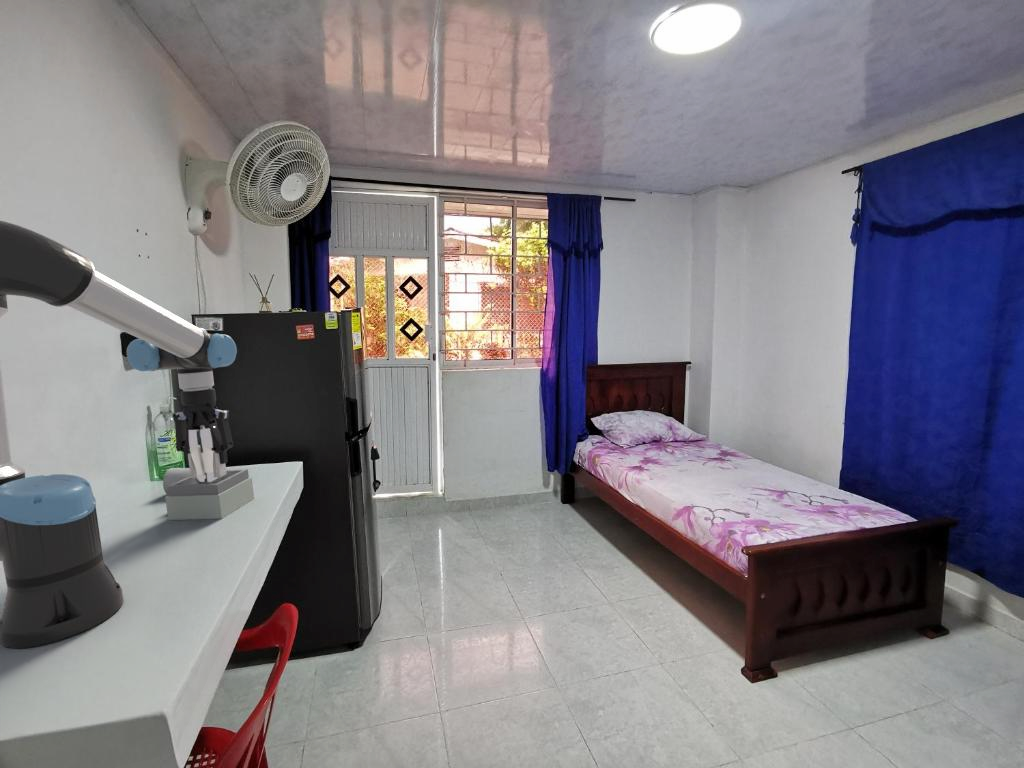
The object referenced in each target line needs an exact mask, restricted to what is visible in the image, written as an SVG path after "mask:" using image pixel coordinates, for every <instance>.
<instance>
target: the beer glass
mask: <svg viewBox="0 0 1024 768" xmlns="http://www.w3.org/2000/svg"><path fill="white" fill-rule="evenodd" d="M215 427H216V426H215ZM215 427H213V428H215ZM187 430H188V444H189V450H190V454H191V457H192V460H193V463H194V465H195V469H196V475H197V476H196V484H216V483H218V482H220V481H222V480H223V478H222V477H218V478H217V471H216V463H215V455H214V453H215V452H216V451H217V449H216V447H215V445H214V443H213V438H212V433H211V428H205V427H204V425H200V427H199V428H198V430H189V429H188V428H187Z"/></svg>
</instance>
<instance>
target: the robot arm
mask: <svg viewBox="0 0 1024 768" xmlns="http://www.w3.org/2000/svg"><path fill="white" fill-rule="evenodd" d="M7 296H18V297H25V298H26V297H27V298H30V299H35V300H39V301H41V302H43V303H45V304H47V305H50V306H53V307H56V308H60V307H61V308H62V307H69V308H72V309H74V310H76V311H79V312H81V313H83V314H86V315H87V316H89V317H91V318H94V319H96V320H99V321H100V322H102V323H104V324H107V325H109V326H111V327H113V328H116V329H117V330H120V331H122V332H125V333H126V334H129V335H131V336H133V337H135V338H136V339H134V340H132V341H130V342H129V344H128V346H127V348H126V358H127V362H128V363H129V364H130V366H131V367H132V368H133V369H134V370H136V371H140V372H155V371H160V370H161V371H163V370H176V371H177V377H178V385H179V390H182V391H181V392H180V401H181V405H182V406H183V409H182V411H179V412H175V413H173V414H172V415H171V416H172V418H173V421H174V427H175V430H174V431H175V447H176V449H175V450H176V451H177V452H182V453H184V457H185V463H186V465H187V466H189V467H188V468H190V475H191V478H195V477H196V476H197V475H196V469H195V465H194V463H193V460H192V457H191V454H190V450H189V444H188V429H189V430H198V428H199V427H200V426H202V425H204V427H205V428H211V433H212V438H213V443H214V445H215V447H216V449H217V451H216V452H215V453H214V455H215V463H216V471H217V478H218V477H222V476H224V475H226V474H227V473H226V470H227V465H226V464H227V463H228V462H229V461H228V452H227V451H228V450H230V449H231V448H233V447H234V446H235V445H234V441H233V435H232V431H231V430H232V429H231V427H230V421H229V417H230V411H229V410H227V409H225V410H221V409H218V407H217V406H216V405H217V404H216V402H217V394H216V389H215V388H214V386H215V381H214V373H213V369H217V368H224V367H228V366H230V365H232V364H233V363H234V362H235V360H236V357H237V353H238V349H237V345H236V343H235V341H234V340H233V338H232V337H231V336H230V335H227V334H223V333H217V332H215V333H208V331H207V330H206V329H205V328H204V327H198V326H195V325H194V324H192V323H190V322H189V321H187V320H186V319H183V318H181V317H180V316H178V315H176V314H174V313H172V312H171V311H169V310H167V309H165V308H164V307H162V306H160V305H158V304H157V303H155V302H153V301H151V300H150V299H147V298H146V297H144V296H142V295H140V294H139V293H137V292H135V291H133V290H131V289H130V288H128V287H126V286H124V285H123V284H120V283H119V282H117V281H115V280H114V279H113V278H110V277H108V276H106V275H105V274H103V273H102V272H100V271H97V270H96V269H95V266H94V264H93V262H92V261H91V260H90V259H89V258H87V257H85V256H83V255H82V254H80V253H78V252H76V251H74V250H72V249H71V248H69V247H68V246H65V245H64V244H61V243H60V242H57V241H56V240H54V239H52V238H49V237H47V236H45V235H43V234H41V233H39V232H36V231H33V230H32V229H29V228H27V227H23V226H21V225H18V224H14V223H12V222H7V221H4V220H0V318H1V317H2V316H4V315H5V314H6V313H8V309H9V307H8V299H7ZM4 391H5V390H4V382H3V374H2V364H1V362H0V562H2V567H3V573H4V577H5V578H4V579H5V582H6V587H7V588H6V589H7V591H6V596H5V602H4V605H3V611H2V617H1V619H0V643H1V645H2V646H4V647H6V646H7V647H6V648H10V647H11V648H12V649H25V648H26V649H27V648H32V647H38V646H43V645H48V644H51V643H55V642H58V641H61V640H64V639H67V638H70V637H72V636H76V635H78V634H80V633H83V632H85V631H88V630H89V629H91V628H93V627H96V626H97V625H99V624H101V623H102V622H105V620H107V619H109V618H111V617H112V616H113V615H114V614H116V613H117V612H118V611H119V609H120V608H121V607H122V606H123V605H124V602H125V600H124V596H123V595H124V593H123V588H122V586H121V585H120V583H118V582H117V581H116V580H117V579H115V577H114V574H113V573H112V572H111V570H110V568H109V567H108V566H107V564H106V563H105V560H104V554H103V548H102V541H101V535H100V527H99V520H98V514H97V508H96V503H97V502H96V498H95V496H94V493H93V490H92V486H91V483H90V482H89V481H88V480H86V478H84V477H81V476H78V475H71V474H61V473H58V474H50V475H43V474H42V475H33V476H29V477H27V476H26V472H25V469H24V468H23V467H21V466H19V465H17V464H15V463H13V462H12V457H11V447H10V440H9V430H8V429H9V428H8V420H7V411H6V403H5V401H6V400H5V392H4ZM215 426H216V427H215ZM213 427H215V428H213Z"/></svg>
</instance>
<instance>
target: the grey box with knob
mask: <svg viewBox="0 0 1024 768" xmlns="http://www.w3.org/2000/svg"><path fill="white" fill-rule="evenodd" d="M226 473H227V474H226V475H224V476H222V478H223V480H222V481H220V482H218V483H216V484H196V477H195V478H191V476H190V477H187V478H185V479H183V480H181V481H178V482H176V483H174V484H172V485H169V486H167V489H168V494H167V495H166V496H164V498H165V499H164V500H165V505H166V507H165V508H166V513H167V520H168V521H178V520H181V521H182V520H186V521H187V520H213V519H215V520H217V519H224V518H225V517H227V516H229V515H230V514H232V513H233V512H235V511H236V510H239V509H240V508H241V507H242V506H243V507H244V505H246V504H249V502H251V501H252V500H254V499H255V493H254V485H253V484H254V483H253V477H250V474H249V469H248V468H247V469H244V468H243V469H226Z"/></svg>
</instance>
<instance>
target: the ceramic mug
mask: <svg viewBox="0 0 1024 768" xmlns="http://www.w3.org/2000/svg"><path fill="white" fill-rule="evenodd" d="M190 476H191V475H190V468H189V467H171V468H169V469H167V470H166V471H165V473H164V474H163V478H162V479H163V480H162V487H163V491H164V492H165V493H166V495H168V489H167V486H169V485H172V484H174V483H176V482H178V481H181V480H183V479H185V478H187V477H190Z"/></svg>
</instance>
